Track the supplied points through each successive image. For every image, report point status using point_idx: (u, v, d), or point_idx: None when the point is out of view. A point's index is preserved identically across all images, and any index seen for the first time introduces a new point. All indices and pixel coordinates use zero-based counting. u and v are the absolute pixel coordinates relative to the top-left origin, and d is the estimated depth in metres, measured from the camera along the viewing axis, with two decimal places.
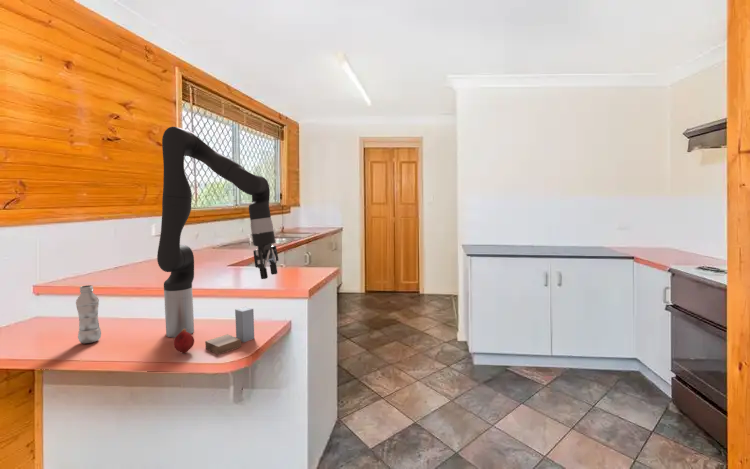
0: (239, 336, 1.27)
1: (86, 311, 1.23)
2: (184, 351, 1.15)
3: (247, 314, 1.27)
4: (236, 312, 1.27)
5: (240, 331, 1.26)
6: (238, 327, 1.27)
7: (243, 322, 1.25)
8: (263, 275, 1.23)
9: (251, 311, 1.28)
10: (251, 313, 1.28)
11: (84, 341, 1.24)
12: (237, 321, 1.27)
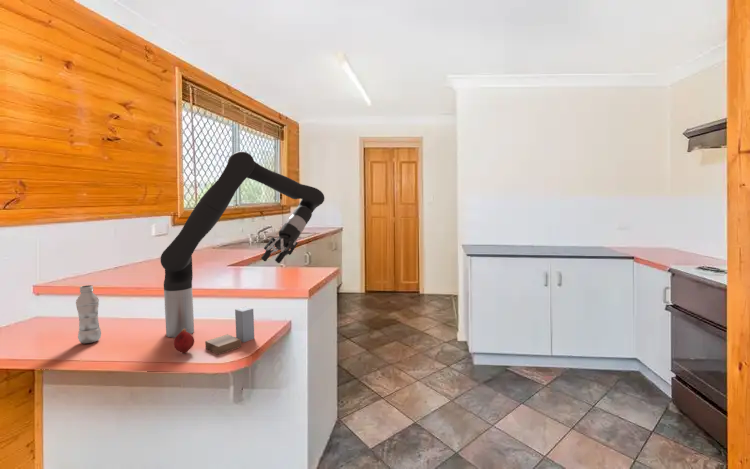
0: (239, 336, 1.27)
1: (86, 311, 1.23)
2: (184, 351, 1.15)
3: (247, 314, 1.27)
4: (236, 312, 1.27)
5: (240, 331, 1.26)
6: (238, 327, 1.27)
7: (243, 322, 1.25)
8: (281, 259, 1.33)
9: (251, 311, 1.28)
10: (251, 313, 1.28)
11: (84, 341, 1.24)
12: (237, 321, 1.27)
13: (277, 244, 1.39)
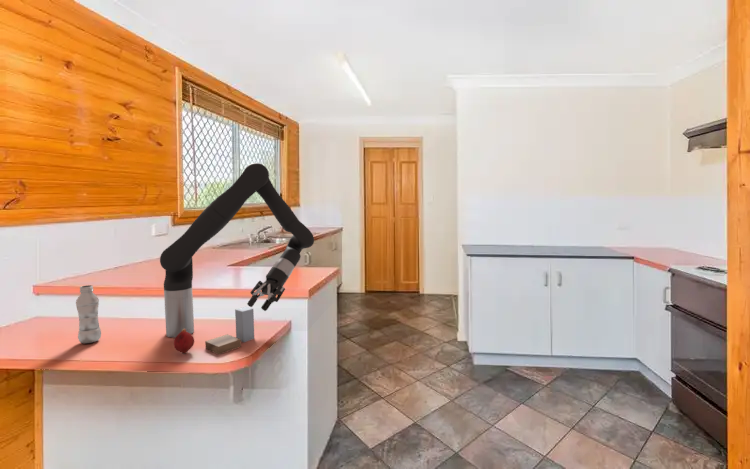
0: (239, 336, 1.27)
1: (86, 311, 1.23)
2: (184, 351, 1.15)
3: (247, 314, 1.27)
4: (236, 312, 1.27)
5: (240, 331, 1.26)
6: (238, 327, 1.27)
7: (243, 322, 1.25)
8: (267, 307, 1.30)
9: (251, 311, 1.28)
10: (251, 313, 1.28)
11: (84, 341, 1.24)
12: (237, 321, 1.27)
13: (264, 289, 1.35)
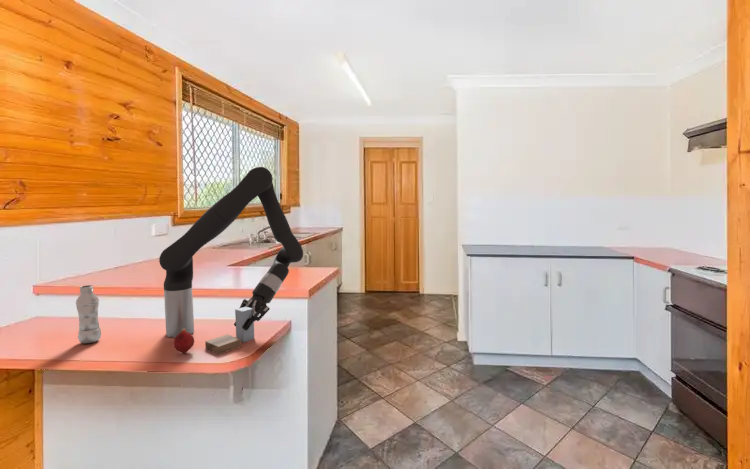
0: (239, 336, 1.27)
1: (86, 311, 1.23)
2: (184, 351, 1.15)
3: (247, 314, 1.27)
4: (236, 312, 1.27)
5: (240, 331, 1.26)
6: (238, 327, 1.27)
7: (243, 322, 1.26)
8: (248, 326, 1.26)
9: None
10: None
11: (84, 341, 1.24)
12: (237, 321, 1.27)
13: (251, 306, 1.30)
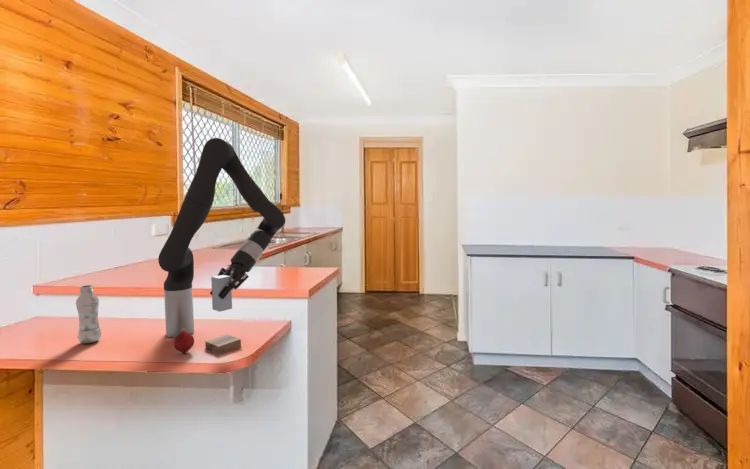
0: (215, 305, 1.18)
1: (86, 311, 1.23)
2: (184, 351, 1.15)
3: (224, 281, 1.18)
4: (212, 279, 1.19)
5: (216, 300, 1.18)
6: (214, 295, 1.19)
7: (220, 290, 1.17)
8: (225, 295, 1.17)
9: (228, 279, 1.19)
10: None
11: (84, 341, 1.24)
12: (213, 289, 1.19)
13: (229, 274, 1.22)
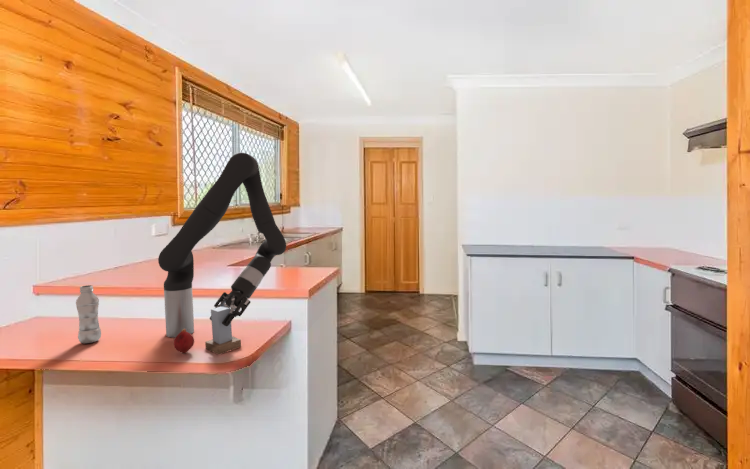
0: (215, 337, 1.19)
1: (86, 311, 1.23)
2: (184, 351, 1.15)
3: (223, 314, 1.18)
4: (212, 312, 1.19)
5: (216, 332, 1.18)
6: (214, 327, 1.19)
7: (219, 323, 1.17)
8: (229, 322, 1.17)
9: (228, 311, 1.19)
10: None
11: (84, 341, 1.24)
12: (213, 322, 1.19)
13: (228, 301, 1.22)
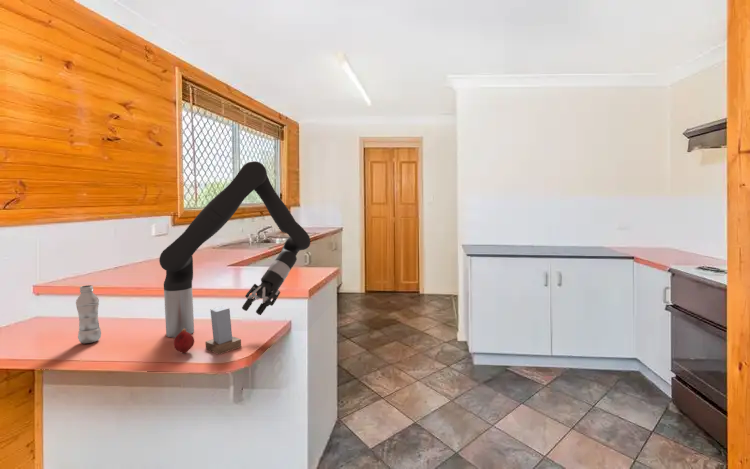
0: (215, 337, 1.19)
1: (86, 311, 1.23)
2: (184, 351, 1.15)
3: (222, 314, 1.18)
4: (211, 312, 1.19)
5: (216, 332, 1.18)
6: (213, 327, 1.19)
7: (218, 323, 1.17)
8: (262, 311, 1.26)
9: (227, 311, 1.19)
10: (227, 313, 1.19)
11: (84, 341, 1.24)
12: (213, 322, 1.19)
13: (259, 293, 1.32)
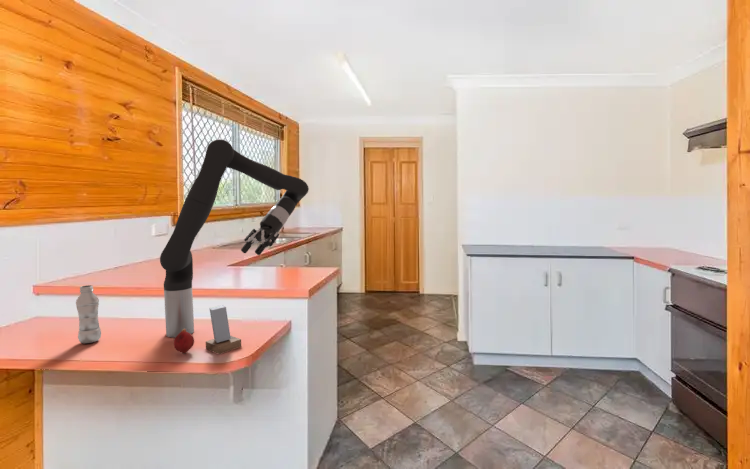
0: (214, 336, 1.20)
1: (86, 311, 1.23)
2: (184, 351, 1.15)
3: (219, 312, 1.18)
4: (210, 311, 1.20)
5: (214, 331, 1.19)
6: (212, 326, 1.20)
7: (215, 321, 1.18)
8: (261, 251, 1.28)
9: (223, 309, 1.19)
10: (223, 312, 1.19)
11: (84, 341, 1.24)
12: (211, 320, 1.20)
13: (258, 236, 1.33)
